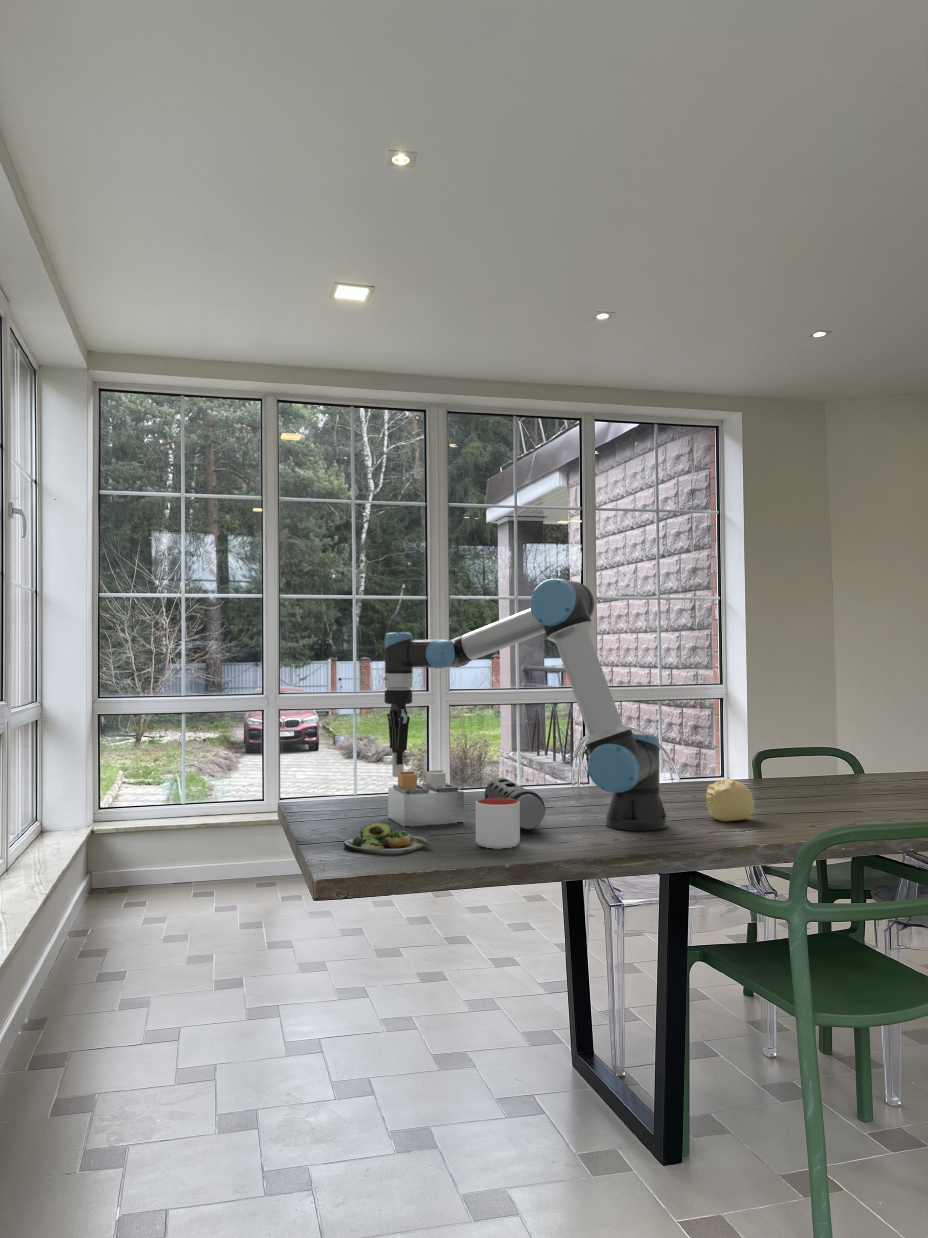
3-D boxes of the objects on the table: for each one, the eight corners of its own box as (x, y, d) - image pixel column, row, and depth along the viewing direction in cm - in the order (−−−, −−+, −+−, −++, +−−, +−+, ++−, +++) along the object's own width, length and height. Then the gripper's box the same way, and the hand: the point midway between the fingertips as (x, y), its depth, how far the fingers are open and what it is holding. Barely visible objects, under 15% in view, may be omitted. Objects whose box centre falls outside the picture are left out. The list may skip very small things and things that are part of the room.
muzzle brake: (517, 814, 250) (517, 776, 250) (548, 835, 222) (548, 791, 223) (483, 816, 248) (483, 777, 248) (509, 836, 220) (509, 792, 221)
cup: (476, 841, 215) (476, 797, 215) (519, 841, 214) (519, 798, 215) (475, 850, 205) (475, 805, 205) (520, 850, 204) (520, 805, 205)
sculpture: (701, 816, 247) (701, 775, 247) (746, 816, 247) (746, 775, 247) (711, 824, 236) (711, 781, 236) (759, 824, 235) (758, 781, 235)
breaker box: (463, 822, 238) (463, 787, 238) (404, 827, 232) (404, 790, 232) (444, 813, 251) (444, 780, 251) (388, 817, 245) (388, 783, 245)
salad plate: (449, 845, 212) (449, 825, 212) (407, 861, 196) (407, 839, 196) (378, 837, 221) (378, 818, 221) (333, 851, 205) (333, 830, 205)
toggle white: (445, 786, 245) (445, 770, 245) (431, 787, 243) (431, 771, 243) (440, 784, 248) (440, 769, 248) (426, 785, 247) (426, 769, 247)
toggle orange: (416, 788, 242) (416, 772, 242) (402, 788, 240) (402, 773, 240) (412, 786, 245) (412, 770, 245) (397, 786, 244) (397, 771, 244)
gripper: (378, 688, 256) (377, 774, 255) (392, 690, 244) (391, 780, 243) (404, 688, 259) (403, 772, 258) (419, 689, 246) (418, 778, 246)
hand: (398, 776), depth 250 cm, fingers closed
